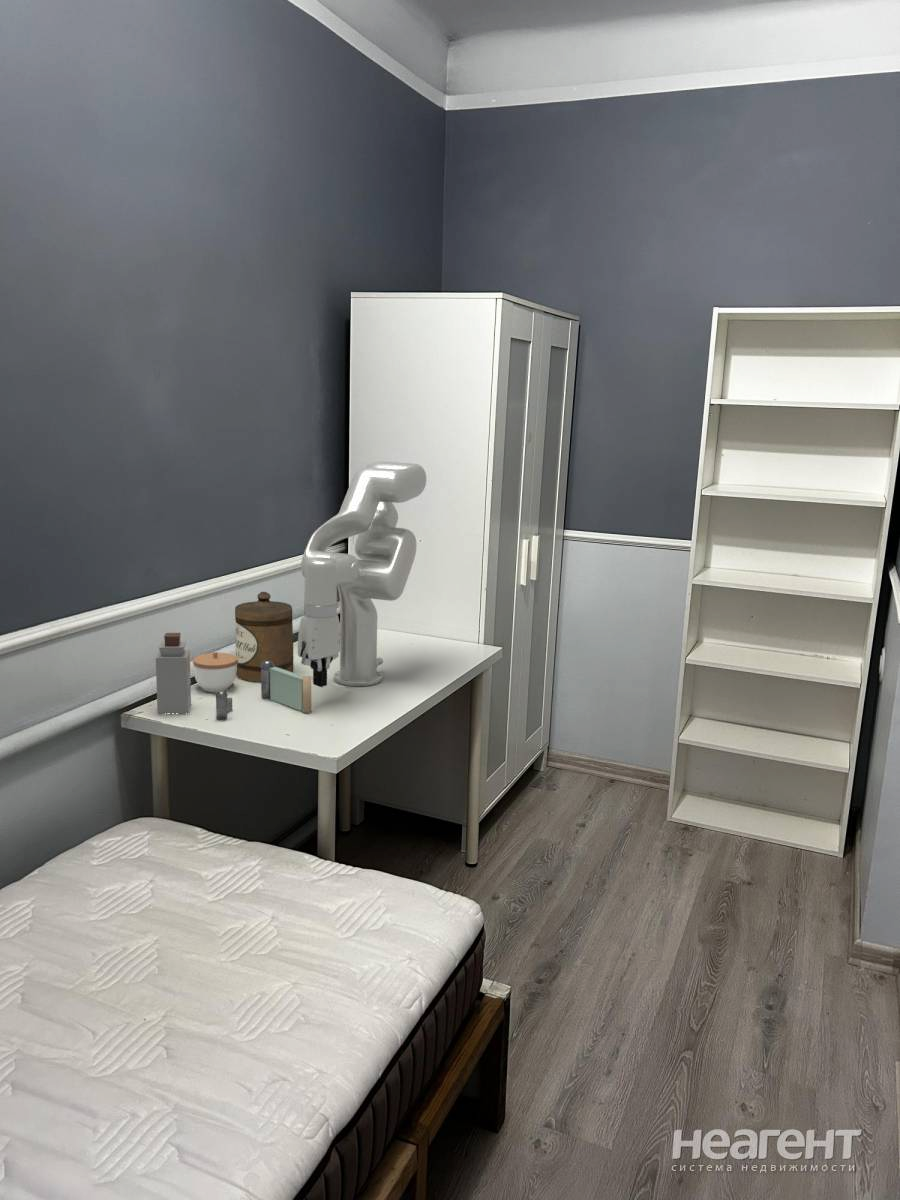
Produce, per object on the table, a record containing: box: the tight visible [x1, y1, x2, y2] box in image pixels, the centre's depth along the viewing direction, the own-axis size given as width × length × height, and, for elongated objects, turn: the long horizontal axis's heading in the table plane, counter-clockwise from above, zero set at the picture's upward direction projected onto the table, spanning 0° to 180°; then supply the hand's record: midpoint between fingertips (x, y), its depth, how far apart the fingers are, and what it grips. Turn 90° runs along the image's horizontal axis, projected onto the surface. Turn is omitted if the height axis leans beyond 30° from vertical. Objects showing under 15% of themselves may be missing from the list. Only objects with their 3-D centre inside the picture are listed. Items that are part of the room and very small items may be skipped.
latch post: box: [215, 691, 233, 721], centre depth 213 cm, size 7×4×7 cm, turn 154°
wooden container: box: [234, 591, 294, 683], centre depth 243 cm, size 15×15×22 cm
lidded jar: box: [192, 651, 238, 693], centre depth 232 cm, size 11×11×9 cm
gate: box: [270, 667, 312, 714], centre depth 221 cm, size 14×2×8 cm, turn 49°
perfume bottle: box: [155, 632, 192, 715], centre depth 215 cm, size 7×7×18 cm
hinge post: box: [260, 660, 274, 701], centre depth 226 cm, size 3×3×10 cm
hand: (319, 685), depth 223 cm, fingers closed
